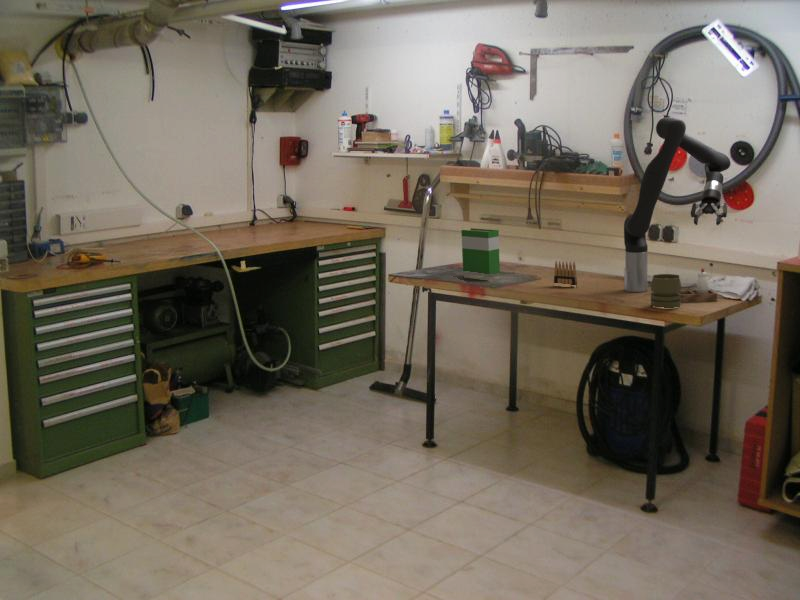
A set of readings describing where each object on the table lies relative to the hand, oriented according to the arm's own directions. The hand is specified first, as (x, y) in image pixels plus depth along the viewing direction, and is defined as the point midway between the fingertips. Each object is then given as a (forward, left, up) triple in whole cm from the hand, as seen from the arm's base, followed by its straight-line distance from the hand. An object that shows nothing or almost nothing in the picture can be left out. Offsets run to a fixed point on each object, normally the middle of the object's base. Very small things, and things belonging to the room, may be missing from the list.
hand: (706, 223), depth 360 cm
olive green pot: (-22, -27, -29) cm, 45 cm away
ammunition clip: (-56, +21, -29) cm, 67 cm away
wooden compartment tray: (-9, -16, -29) cm, 34 cm away
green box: (-94, +51, -29) cm, 111 cm away
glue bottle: (-6, -16, -28) cm, 32 cm away
